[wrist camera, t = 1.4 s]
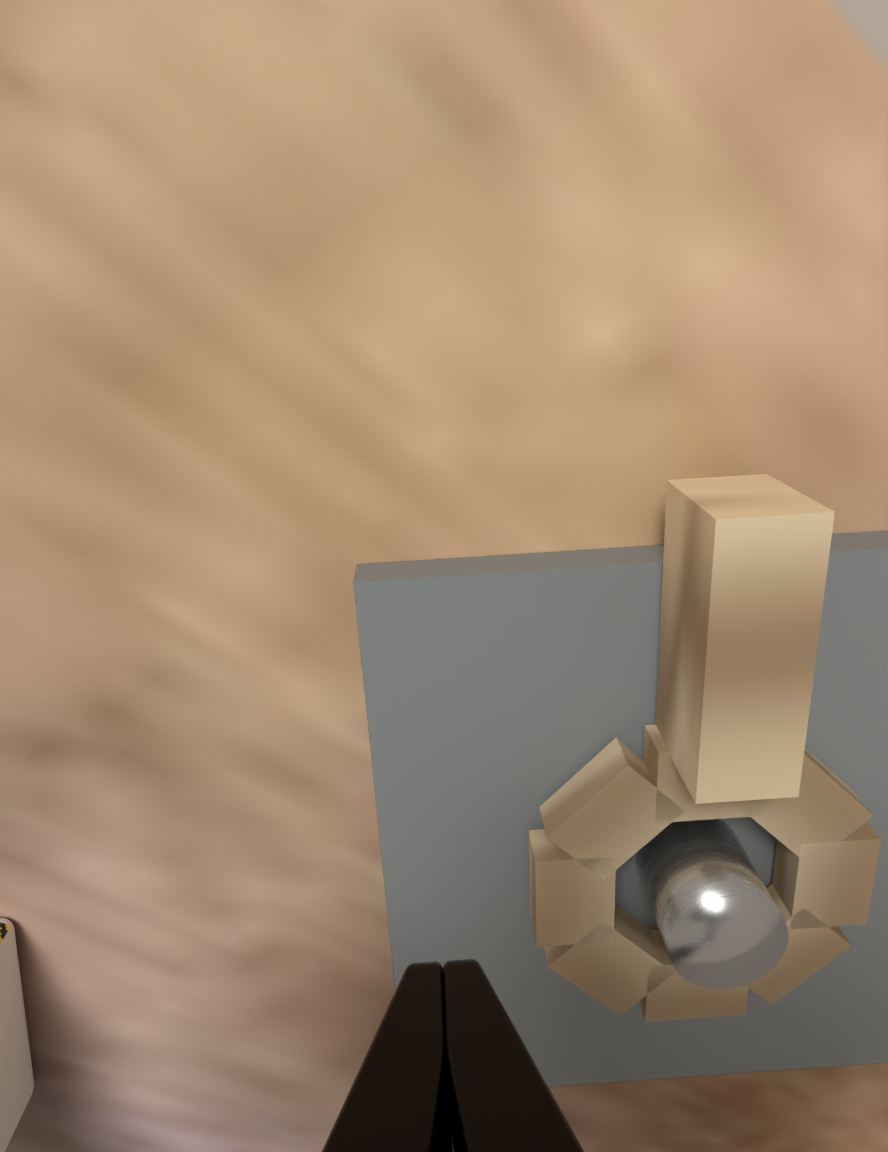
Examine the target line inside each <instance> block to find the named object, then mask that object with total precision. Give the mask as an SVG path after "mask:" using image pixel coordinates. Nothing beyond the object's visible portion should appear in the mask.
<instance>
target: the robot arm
mask: <svg viewBox="0 0 888 1152" xmlns="http://www.w3.org/2000/svg"><path fill="white" fill-rule="evenodd" d="M452 1138H453V1142H452ZM322 1152H584V1151H583V1149H582V1147H581V1145H580V1143H579V1142H578V1140H577V1138H576V1136H575V1134H574V1133H573V1131H572V1129H571V1127H570V1125H569V1124H568V1122H567V1120H566V1118H565V1116H564V1115H563V1113H562V1111H561V1109H560V1107H559V1106H558V1104H557V1102H556V1100H555V1098H554V1097H553V1095H552V1093H551V1091H550V1089H549V1088H548V1086H547V1084H546V1082H545V1080H544V1079H543V1077H542V1075H541V1073H540V1071H539V1070H538V1068H537V1066H536V1064H535V1062H534V1061H533V1059H532V1057H531V1055H530V1053H529V1052H528V1050H527V1048H526V1046H525V1044H524V1043H523V1041H522V1039H521V1037H520V1035H519V1034H518V1032H517V1030H516V1028H515V1026H514V1025H513V1023H512V1021H511V1019H510V1017H509V1016H508V1014H507V1012H506V1010H505V1008H504V1007H503V1005H502V1003H501V1001H500V999H499V998H498V996H497V994H496V992H495V990H494V989H493V987H492V985H491V983H490V981H489V980H488V978H487V976H486V974H485V972H484V971H483V969H482V967H481V965H480V964H479V963H478V962H477V961H476V960H475V959H463V960H449V961H446V962H445V963H444V965H443V967H442V965H441V963H439V962H437V961H434V962H420V963H411V964H410V965H408V966H407V968H406V969H405V971H404V973H403V975H402V978H401V980H400V982H399V984H398V986H397V989H396V991H395V993H394V995H393V997H392V999H391V1002H390V1004H389V1006H388V1008H387V1010H386V1013H385V1015H384V1017H383V1019H382V1021H381V1024H380V1026H379V1028H378V1030H377V1032H376V1034H375V1037H374V1039H373V1041H372V1043H371V1045H370V1048H369V1050H368V1052H367V1054H366V1056H365V1059H364V1061H363V1063H362V1065H361V1067H360V1069H359V1072H358V1074H357V1076H356V1078H355V1080H354V1083H353V1085H352V1087H351V1089H350V1091H349V1094H348V1096H347V1098H346V1100H345V1102H344V1104H343V1107H342V1109H341V1111H340V1113H339V1115H338V1118H337V1120H336V1122H335V1124H334V1126H333V1129H332V1131H331V1133H330V1135H329V1137H328V1139H327V1142H326V1144H325V1146H324V1148H323V1150H322Z"/></svg>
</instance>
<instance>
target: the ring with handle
mask: <svg viewBox="0 0 888 1152" xmlns="http://www.w3.org/2000/svg"><path fill="white" fill-rule="evenodd" d="M834 514H835V512H834V511H832V510H830V509H829V508H827V507H825V506H823V505H821V504H820V503H818V502H816V501H814V500H812V499H811V498H809V497H807V496H805V495H803V494H802V493H800V492H798V491H796V490H794V489H793V488H791V487H789V486H787V485H785V484H784V483H782V482H780V481H778V480H776V479H775V478H773V477H771V476H769V475H767V474H759V475H743V476H727V477H711V478H695V479H679V480H667V490H666V512H665V533H664V554H663V575H662V596H661V617H660V639H659V660H658V681H657V702H656V723H655V725H645V728H644V752H643V759H642V758H641V757H640V756H638V755H637V754H636V753H635V752H633V751H632V750H631V749H630V748H629V747H627V746H626V745H625V744H624V743H622V742H621V741H620V740H619V739H618V738H615V739H614V740H613V741H612V742H610V743H609V744H608V745H607V746H606V747H605V748H604V749H603V750H602V751H601V752H599V753H598V754H597V755H596V756H595V757H594V758H593V759H592V760H591V761H590V762H588V763H587V764H586V765H585V766H584V767H583V768H582V769H581V770H580V771H579V772H577V773H576V774H575V775H574V776H573V777H572V778H571V779H570V780H569V781H568V782H566V783H565V784H564V785H563V786H562V787H561V788H560V789H559V790H558V791H557V792H555V793H554V794H553V795H552V796H551V797H550V798H549V799H548V800H547V801H546V802H544V803H543V804H542V805H541V806H540V811H541V816H542V820H543V824H544V829H537V830H529V871H530V913H531V919H532V924H533V930H534V935H535V941H536V946H537V947H544V948H545V953H546V959H547V964H548V967H549V968H550V969H552V970H553V971H555V972H556V973H558V974H559V975H561V976H562V977H564V978H565V979H566V980H568V981H569V982H571V983H572V984H574V985H575V986H577V987H578V988H580V989H581V990H583V991H584V992H586V993H587V994H588V995H590V996H591V997H593V998H594V999H596V1000H597V1001H599V1002H600V1003H602V1004H603V1005H605V1006H606V1007H607V1008H609V1009H610V1010H612V1011H613V1012H615V1013H616V1014H618V1015H619V1016H621V1015H622V1014H623V1013H624V1012H626V1011H627V1010H628V1009H629V1008H631V1007H632V1006H633V1005H635V1004H636V1003H637V1002H638V1001H639V1003H640V1007H641V1010H642V1013H643V1016H644V1020H645V1022H653V1021H667V1020H681V1019H695V1018H710V1017H724V1016H738V1015H745V1012H746V1003H747V994H748V988H749V989H750V990H752V991H753V992H754V993H756V994H757V995H759V996H760V997H761V998H763V999H764V1000H765V1001H767V1002H768V1003H769V1004H771V1005H773V1004H774V1003H776V1002H777V1001H778V1000H780V999H781V998H782V997H784V996H785V995H786V994H788V993H789V992H790V991H792V990H793V989H794V988H796V987H797V986H798V985H800V984H801V983H802V982H804V981H805V980H806V979H808V978H809V977H811V976H812V975H813V974H815V973H816V972H817V971H819V970H820V969H821V968H823V967H824V966H825V965H827V964H828V963H829V962H831V961H832V960H833V959H835V958H836V957H837V956H839V955H840V954H841V953H843V952H844V951H845V950H847V949H848V948H850V947H851V946H852V945H851V944H850V942H849V941H848V939H847V938H846V936H845V935H844V933H843V932H842V930H841V929H840V927H839V926H851V925H865V924H867V918H868V913H869V907H870V901H871V896H872V890H873V884H874V879H875V873H876V867H877V862H878V856H879V850H880V845H881V837H880V836H879V835H878V834H877V833H876V831H875V830H874V829H873V828H872V827H871V825H870V824H869V823H868V822H867V821H868V820H869V819H871V818H872V817H873V814H872V813H871V812H870V811H869V810H868V809H867V807H866V806H865V805H864V804H863V803H862V802H861V800H860V799H859V798H858V797H857V796H856V795H855V793H854V792H853V791H852V790H851V789H850V788H849V786H848V785H846V784H845V783H844V782H843V781H842V780H841V779H840V778H839V777H837V776H836V775H835V774H834V773H833V772H832V771H831V770H830V769H829V768H827V767H826V766H825V765H824V764H823V763H822V762H821V761H820V760H818V759H817V758H816V757H815V756H814V755H813V754H812V753H811V752H809V751H808V750H807V749H806V748H805V742H806V734H807V726H808V719H809V711H810V703H811V695H812V687H813V679H814V671H815V664H816V656H817V648H818V640H819V632H820V624H821V616H822V608H823V601H824V593H825V585H826V577H827V569H828V561H829V553H830V546H831V538H832V530H833V522H834ZM739 817H751V818H752V819H754V820H755V821H756V822H757V823H758V824H760V825H761V826H762V827H763V828H764V829H766V830H767V831H768V832H769V833H770V834H772V835H773V836H774V837H775V838H776V839H777V844H776V853H775V861H774V870H773V878H772V884H771V885H769V886H768V887H767V890H768V892H769V893H770V895H771V897H772V899H773V900H774V902H775V904H776V906H777V907H778V909H779V911H780V913H781V914H782V916H783V918H784V920H785V922H786V924H787V927H788V933H789V937H788V944H787V948H786V950H785V953H784V954H783V956H782V958H781V959H780V961H779V962H778V963H777V964H776V966H775V967H774V968H773V969H772V970H770V971H769V972H768V973H767V974H765V975H764V976H762V977H761V978H759V979H757V980H755V981H753V982H751V983H748V984H746V985H743V986H739V987H735V988H728V989H710V988H704V987H701V986H697V985H695V984H692V983H690V982H689V981H687V980H685V979H684V978H683V977H682V976H680V975H679V973H678V972H677V971H676V970H675V968H674V967H673V965H672V962H671V960H670V957H669V954H668V952H667V949H666V946H665V943H664V941H663V938H662V935H661V933H660V930H650V929H649V928H648V927H646V926H645V925H643V924H642V923H641V922H639V921H638V920H637V919H635V918H634V917H633V916H631V915H630V914H629V913H627V912H626V911H624V910H623V909H622V908H620V907H619V906H618V905H616V904H615V877H616V870H617V869H618V868H619V867H620V866H621V865H622V864H624V863H625V862H626V861H627V860H628V859H629V858H631V857H632V856H633V855H634V854H635V853H636V852H638V851H639V850H640V849H641V848H642V847H644V846H645V845H646V844H647V843H648V842H649V841H651V840H652V839H653V838H654V837H655V836H656V835H658V834H659V833H660V832H661V831H662V830H663V829H665V828H666V827H667V826H668V825H669V824H671V823H672V822H680V821H694V820H709V819H724V818H739Z"/></svg>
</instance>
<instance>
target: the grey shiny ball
mask: <svg viewBox="0 0 888 1152" xmlns="http://www.w3.org/2000/svg"><path fill="white" fill-rule="evenodd" d="M636 868H637V871H638V874H639V877H640V879H641V882H642V885H643V887H644V890H645V893H646V895H647V898H648V901H649V903H650V906H651V909H652V911H653V914H654V917H655V919H656V922H657V925H658V927H659V930H660V933H661V935H662V938H663V941H664V943H665V946H666V949H667V952H668V954H669V957H670V960H671V962H672V965H673V967H674V968H675V970H676V971H677V972H678V973H679V975H680V976H682V977H683V978H684V979H685V980H687V981H689V982H690V983H692V984H695V985H697V986H701V987H704V988H710V989H728V988H735V987H739V986H743V985H746V984H748V983H751V982H753V981H755V980H757V979H759V978H761V977H762V976H764V975H765V974H767V973H768V972H769V971H770V970H772V969H773V968H774V967H775V966H776V964H777V963H778V962H779V961H780V959H781V958H782V956H783V954H784V953H785V950H786V948H787V944H788V937H789V933H788V927H787V924H786V922H785V920H784V918H783V916H782V914H781V913H780V911H779V909H778V907H777V906H776V904H775V902H774V900H773V899H772V897H771V895H770V893H769V892H768V890H767V888H766V886H765V885H764V883H763V881H762V880H761V878H760V876H759V874H758V873H757V871H756V869H755V867H754V866H753V864H752V862H751V860H750V859H749V857H748V855H747V854H746V852H745V850H744V848H743V847H742V845H741V843H740V841H739V840H738V838H737V836H736V834H735V833H734V831H733V830H732V829H731V827H730V826H729V825H728V824H727V823H725V822H724V821H722V820H721V819H709V820H694V821H680V822H672V823H671V824H669V825H668V826H667V827H666V828H665V829H663V830H662V831H661V832H660V833H659V834H658V835H656V836H655V837H654V838H653V839H652V840H651V841H649V842H648V843H647V844H646V845H645V846H644V847H642V848H641V849H640V850H639V851H638V852H637V854H636Z"/></svg>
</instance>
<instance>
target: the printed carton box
mask: <svg viewBox="0 0 888 1152" xmlns="http://www.w3.org/2000/svg"><path fill="white" fill-rule="evenodd" d="M33 1089H34V1077H33V1069H32V1062H31V1054H30V1046H29V1038H28V1031H27V1023H26V1015H25V1007H24V1000H23V992H22V984H21V976H20V969H19V961H18V953H17V945H16V938H15V930H14V926H13V924H12V922H11V921H10V920H8V919H5V918H0V1152H5V1151H6V1149H7V1146H8V1144H9V1142H10V1140H11V1138H12V1136H13V1134H14V1132H15V1129H16V1127H17V1125H18V1123H19V1121H20V1119H21V1117H22V1115H23V1112H24V1110H25V1108H26V1106H27V1104H28V1102H29V1100H30V1098H31V1095H32V1093H33Z"/></svg>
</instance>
